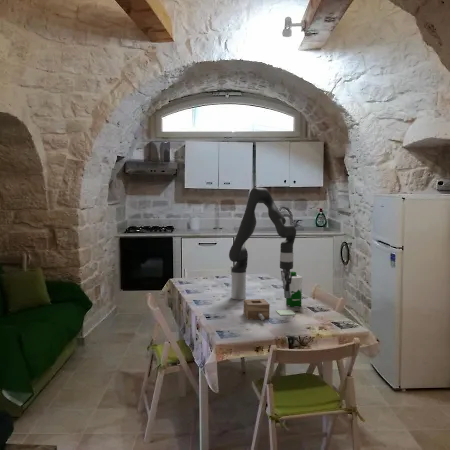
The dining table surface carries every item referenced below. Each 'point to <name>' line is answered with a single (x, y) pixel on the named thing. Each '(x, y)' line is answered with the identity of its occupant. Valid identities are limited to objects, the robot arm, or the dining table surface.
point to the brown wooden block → (256, 309)
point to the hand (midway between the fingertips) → (286, 289)
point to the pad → (285, 312)
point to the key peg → (286, 293)
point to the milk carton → (295, 290)
